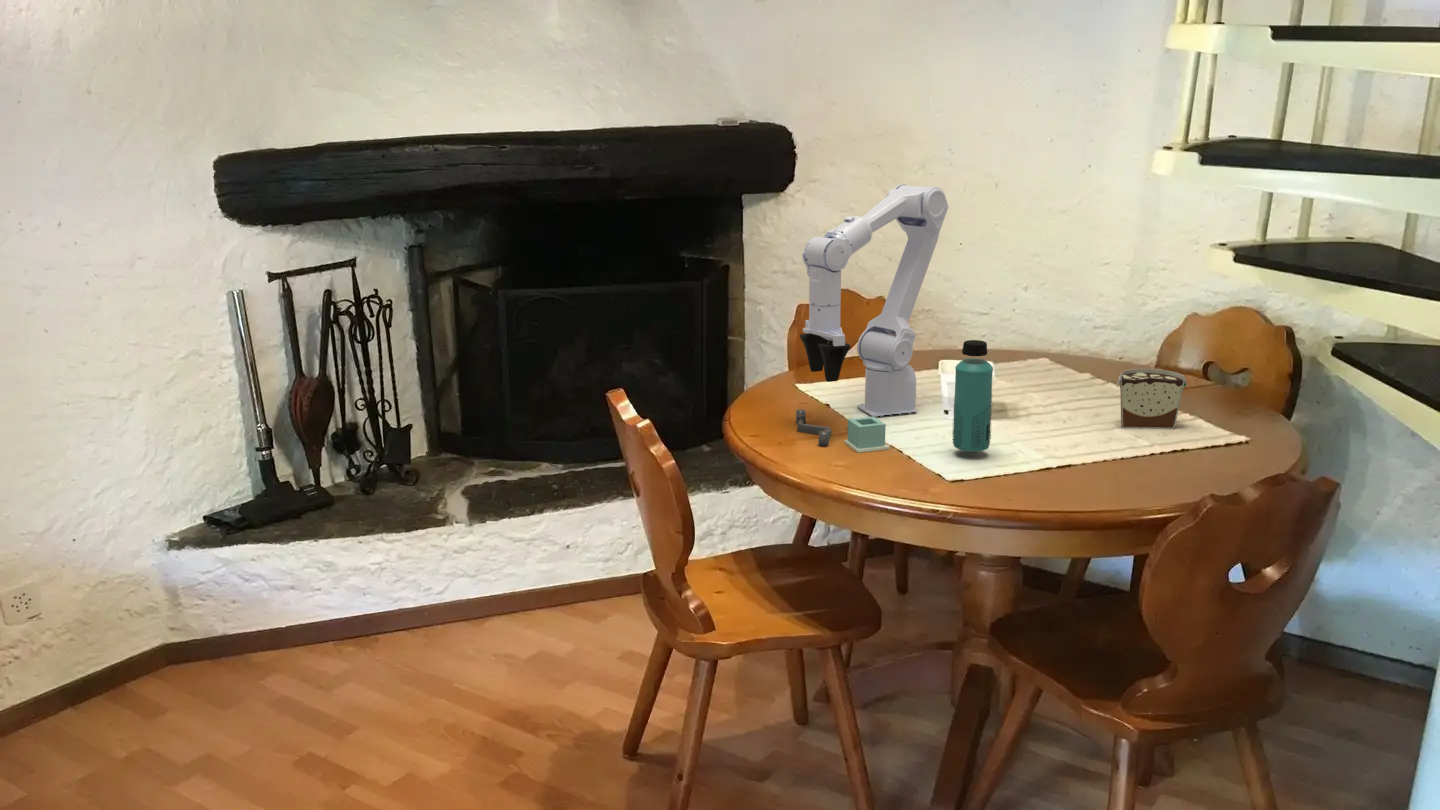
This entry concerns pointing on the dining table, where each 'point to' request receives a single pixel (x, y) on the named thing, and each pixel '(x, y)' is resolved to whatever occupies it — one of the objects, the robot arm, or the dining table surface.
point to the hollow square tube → (866, 432)
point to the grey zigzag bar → (813, 428)
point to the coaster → (866, 448)
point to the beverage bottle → (972, 399)
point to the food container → (1150, 398)
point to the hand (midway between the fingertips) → (824, 376)
